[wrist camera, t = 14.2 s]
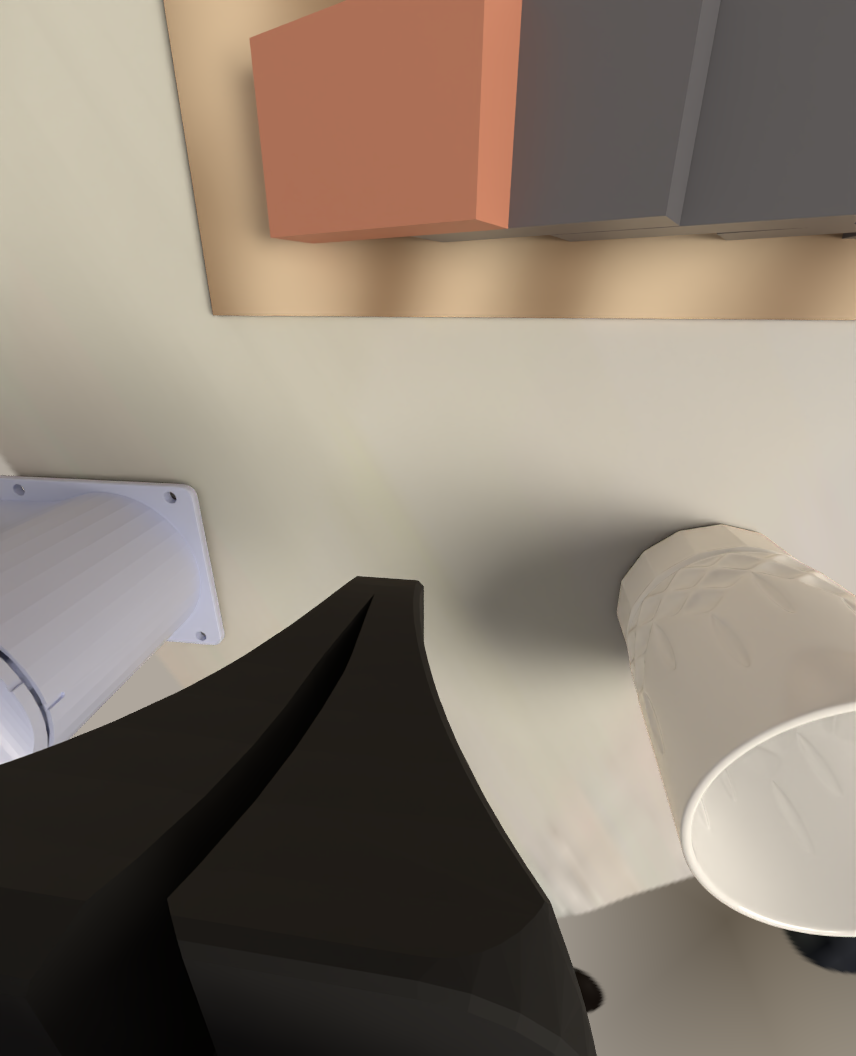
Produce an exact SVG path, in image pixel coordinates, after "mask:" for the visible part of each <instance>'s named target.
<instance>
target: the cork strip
mask: <svg viewBox="0 0 856 1056" xmlns="http://www.w3.org/2000/svg"><path fill="white" fill-rule="evenodd" d="M163 1H164V7H165V14H166V20H167V26H168V33H169V39H170V45H171V52H172V58H173V64H174V71H175V77H176V83H177V90H178V96H179V102H180V109H181V115H182V121H183V127H184V134H185V140H186V146H187V153H188V159H189V165H190V172H191V178H192V184H193V191H194V197H195V203H196V210H197V216H198V222H199V229H200V235H201V241H202V248H203V254H204V260H205V267H206V273H207V279H208V286H209V292H210V298H211V305H212V311H213V315H251V316H386V317H522V318H658V319H793V320H856V239H842V236H843V233H837V234H821V235H806V236H790V237H774V238H759V239H743V240H727V241H726V240H725V239H723V238H722V237H720V236H719V235H717V233H708V234H691V235H674V236H657V237H641V238H624V239H607V240H590V241H574V242H570V241H567V240H564V239H561V238H557V237H554V236H551V235H542V236H527V237H513V238H499V239H484V240H470V241H455V242H438V241H433V240H427V239H422V238H417V237H411V236H407V237H394V238H381V239H368V240H354V241H341V242H328V243H315V244H312V243H305V242H298V241H291V240H284V239H276V238H271V237H270V227H269V218H268V209H267V199H266V190H265V180H264V171H263V162H262V152H261V143H260V134H259V124H258V115H257V106H256V96H255V87H254V77H253V68H252V59H251V49H250V40H249V38H251V37H253V36H256V35H258V34H261V33H263V32H266V31H269V30H271V29H274V28H276V27H279V26H281V25H284V24H287V23H289V22H292V21H294V20H297V19H299V18H302V17H305V16H307V15H310V14H312V13H315V12H317V11H320V10H323V9H325V8H328V7H330V6H333V5H335V4H338V3H341V2H343V1H346V0H163Z"/></svg>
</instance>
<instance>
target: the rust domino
mask: <svg viewBox="0 0 856 1056" xmlns="http://www.w3.org/2000/svg"><path fill="white" fill-rule="evenodd" d="M521 12H522V0H346V1H343V2H341V3H338V4H335V5H333V6H330V7H328V8H325V9H323V10H320V11H317V12H315V13H312V14H310V15H307V16H305V17H302V18H299V19H297V20H294V21H292V22H289V23H287V24H284V25H281V26H279V27H276V28H274V29H271V30H269V31H266V32H263V33H261V34H258V35H256V36H253V37H251V38H249V40H250V49H251V59H252V68H253V77H254V87H255V96H256V106H257V115H258V124H259V134H260V143H261V152H262V162H263V171H264V180H265V190H266V199H267V209H268V218H269V227H270V237H271V238H276V239H284V240H291V241H298V242H305V243H312V244H315V243H328V242H341V241H354V240H368V239H381V238H394V237H407V236H420V235H433V234H446V233H459V232H473V231H486V230H499V229H508V220H509V204H510V188H511V172H512V156H513V140H514V124H515V108H516V92H517V76H518V60H519V44H520V28H521Z"/></svg>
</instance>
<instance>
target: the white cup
mask: <svg viewBox="0 0 856 1056" xmlns="http://www.w3.org/2000/svg"><path fill="white" fill-rule="evenodd" d="M617 617H618V620H619V623H620V626H621V629H622V632H623V635H624V638H625V641H626V645H627V649H628V655H629V663H630V669H631V673H632V677H633V681H634V685H635V688H636V692H637V695H638V701H639V705H640V709H641V712H642V715H643V719H644V722H645V726H646V729H647V732H648V736H649V739H650V742H651V746H652V749H653V752H654V756H655V759H656V762H657V766H658V769H659V772H660V776H661V779H662V783H663V786H664V789H665V793H666V796H667V800H668V803H669V806H670V810H671V813H672V817H673V820H674V824H675V827H676V831H677V834H678V838H679V841H680V844H681V848H682V851H683V855H684V857H685V860H686V862H687V864H688V866H689V868H690V870H691V872H692V873H693V875H694V876H695V877H696V879H697V880H698V881H699V882H700V884H701V885H702V886H703V887H704V888H705V889H706V890H707V891H708V892H709V893H711V894H712V895H713V896H714V897H715V898H717V899H718V900H720V901H721V902H722V903H724V904H726V905H727V906H728V907H730V908H732V909H734V910H735V911H737V912H739V913H741V914H743V915H746V916H748V917H750V918H752V919H755V920H758V921H760V922H763V923H766V924H769V925H772V926H776V927H779V928H783V929H787V930H792V931H796V932H802V933H808V934H815V935H825V936H839V937H856V596H855V595H854V594H852V593H851V592H849V591H848V590H846V589H845V588H844V587H842V586H841V585H839V584H838V583H836V582H835V581H833V580H832V579H830V578H828V577H827V576H825V575H824V574H823V573H821V572H819V571H817V570H815V569H813V568H811V567H809V566H807V565H805V564H803V563H802V562H800V561H799V560H797V559H796V558H794V557H793V556H791V555H790V554H789V553H787V552H786V551H785V550H783V549H782V548H781V547H779V546H778V545H777V544H775V543H774V542H773V541H771V540H770V539H769V538H767V537H766V536H765V535H763V534H761V533H757V532H753V531H749V530H745V529H740V528H736V527H732V526H728V525H723V524H719V525H713V526H706V527H700V528H694V529H688V530H682V531H678V532H676V533H674V534H673V535H671V536H669V537H668V538H666V539H664V540H662V541H661V542H659V543H657V544H656V545H654V546H652V547H650V548H649V549H647V550H645V551H644V552H643V553H642V554H641V555H640V557H639V558H638V559H637V561H636V562H635V563H634V565H633V566H632V567H631V569H630V570H629V571H628V573H627V574H626V575H625V577H624V578H623V579H622V581H621V587H620V593H619V600H618V606H617Z"/></svg>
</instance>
